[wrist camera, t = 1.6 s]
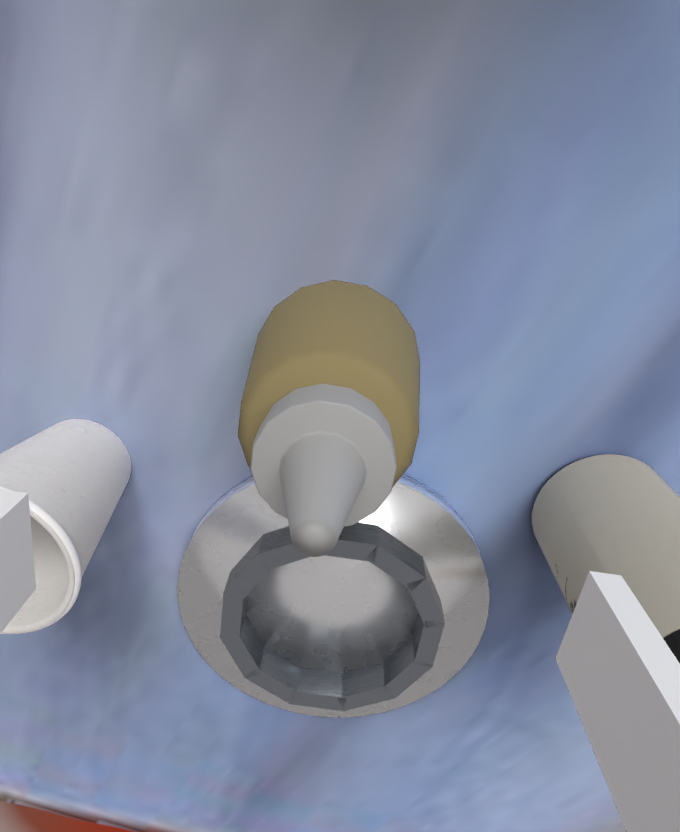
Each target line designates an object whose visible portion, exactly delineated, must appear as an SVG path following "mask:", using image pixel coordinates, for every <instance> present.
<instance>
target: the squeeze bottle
mask: <svg viewBox="0 0 680 832" xmlns="http://www.w3.org/2000/svg"><path fill="white" fill-rule="evenodd" d="M419 395H420V359H419V354H418V348H417V343H416V338H415V333H414V330H413V329H412V327H411V326H410V324H409V323H408V321H407V320H406V318H405V317H404V315H403V314H402V312H401V311H400V309H399V308H398V307H397V305H396V304H395V303H393V302H392V301H390V300H389V299H387V298H386V297H384V296H382V295H381V294H379V293H378V292H376V291H375V290H373V289H371V288H370V287H368V286H365V285H359V284H353V283H348V282H342V281H336V280H332V281H328V282H323V283H319V284H315V285H311V286H306V287H302V288H300V289H298V290H297V291H296V292H294V293H293V294H292V295H290V296H289V297H287V298H286V299H285V300H283V301H282V302H281V303H279V304H278V305H277V306H275V307H274V308H273V310H272V312H271V314H270V315H269V317H268V319H267V321H266V322H265V324H264V326H263V328H262V329H261V331H260V333H259V334H258V338H257V342H256V346H255V350H254V354H253V358H252V362H251V366H250V370H249V374H248V378H247V381H246V385H245V389H244V393H243V397H242V401H241V409H240V419H239V429H238V437H239V440H240V443H241V446H242V449H243V452H244V455H245V458H246V461H247V464H248V466H249V467H250V470H251V473H252V476H253V479H254V482H255V485H256V488H257V491H258V493H259V494H260V496H261V497H262V498H263V499H264V500H265V501H266V502H267V504H268V505H269V506H270V507H271V508H272V509H273V510H274V511H275V513H277V514H279V515H281V516H283V517H285V518H286V519H288V523H289V529H290V535H291V540H292V543H293V546H294V547H295V548H296V549H297V550H298V551H299V552H300V553H302V554H304V555H306V556H311V557H318V556H324V555H326V554H327V553H329V552H331V550H332V549H333V548H334V546H335V545H336V543H337V540H338V538H339V536H340V534H341V532H342V529H343V527H344V526H350V525H354V524H356V523H357V522H359V521H361V520H362V519H364V518H366V517H368V516H369V515H371V514H373V513H374V512H376V511H377V510H378V508H379V507H380V506H381V504H382V503H383V502H384V500H385V499H386V498H387V496H388V495H389V494H390V493H391V491H392V488H393V487H394V485H395V484H396V483H397V481H398V480H399V479H400V477H401V476H402V475H403V474H404V472H405V471H406V470H407V468H408V467H409V466H410V464H411V463H412V459H413V454H414V450H415V446H416V442H417V438H418V434H419Z"/></svg>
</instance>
